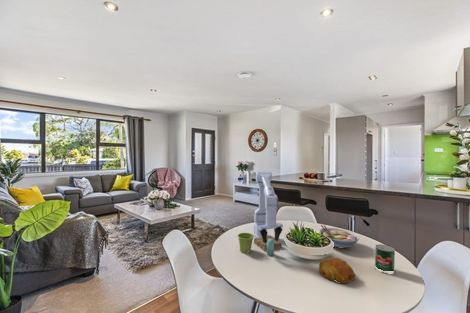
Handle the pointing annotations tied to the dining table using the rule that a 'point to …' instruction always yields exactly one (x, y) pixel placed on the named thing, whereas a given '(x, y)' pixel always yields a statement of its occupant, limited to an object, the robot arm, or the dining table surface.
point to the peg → (270, 247)
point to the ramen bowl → (340, 236)
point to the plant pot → (245, 241)
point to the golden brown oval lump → (336, 270)
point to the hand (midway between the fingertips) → (270, 241)
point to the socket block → (263, 245)
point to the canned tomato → (384, 257)
